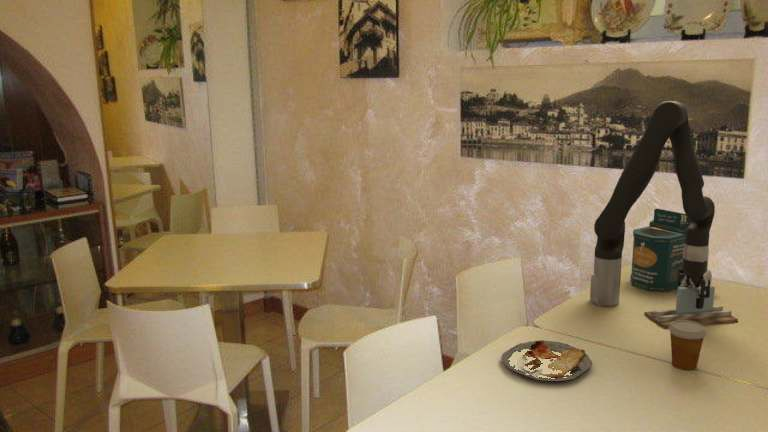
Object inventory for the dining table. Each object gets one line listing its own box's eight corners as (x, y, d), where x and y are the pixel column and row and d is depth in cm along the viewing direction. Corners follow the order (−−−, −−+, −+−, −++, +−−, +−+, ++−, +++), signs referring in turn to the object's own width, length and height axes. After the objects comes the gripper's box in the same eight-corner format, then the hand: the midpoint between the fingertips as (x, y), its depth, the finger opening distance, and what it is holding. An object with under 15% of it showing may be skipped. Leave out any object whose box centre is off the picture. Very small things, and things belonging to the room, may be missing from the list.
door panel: (678, 317, 212) (681, 289, 210) (675, 315, 214) (677, 287, 212) (712, 315, 213) (714, 286, 211) (708, 312, 215) (711, 284, 213)
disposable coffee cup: (700, 360, 184) (704, 321, 181) (705, 375, 175) (708, 334, 172) (664, 356, 187) (667, 317, 184) (667, 370, 178) (670, 330, 175)
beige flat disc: (703, 299, 231) (705, 272, 228) (693, 297, 233) (695, 271, 231) (711, 291, 238) (714, 266, 236) (701, 289, 240) (704, 264, 238)
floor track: (664, 328, 206) (664, 321, 206) (644, 314, 218) (644, 307, 217) (737, 322, 210) (738, 315, 209) (714, 309, 221) (714, 302, 221)
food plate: (535, 339, 200) (535, 329, 199) (605, 362, 184) (605, 351, 183) (487, 368, 183) (487, 357, 182) (560, 396, 167) (560, 384, 166)
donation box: (685, 286, 245) (691, 215, 238) (658, 294, 237) (663, 221, 230) (649, 275, 258) (654, 207, 252) (622, 282, 250) (627, 213, 244)
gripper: (672, 252, 215) (668, 297, 219) (698, 264, 202) (693, 312, 205) (692, 250, 216) (688, 295, 220) (720, 262, 202) (715, 310, 206)
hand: (691, 303), depth 213 cm, fingers open, 8 cm apart
